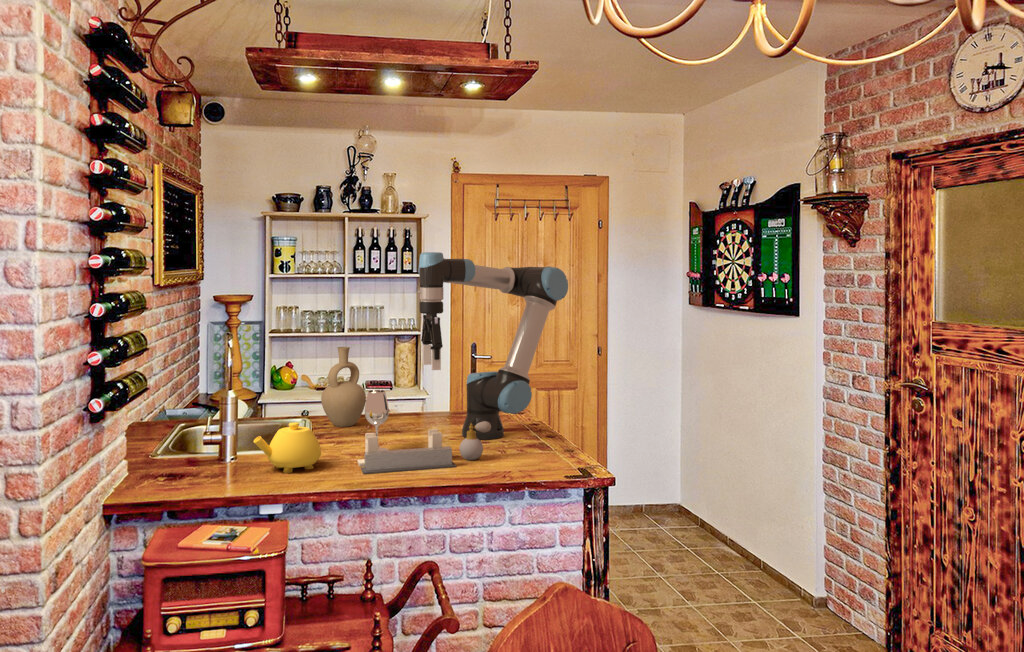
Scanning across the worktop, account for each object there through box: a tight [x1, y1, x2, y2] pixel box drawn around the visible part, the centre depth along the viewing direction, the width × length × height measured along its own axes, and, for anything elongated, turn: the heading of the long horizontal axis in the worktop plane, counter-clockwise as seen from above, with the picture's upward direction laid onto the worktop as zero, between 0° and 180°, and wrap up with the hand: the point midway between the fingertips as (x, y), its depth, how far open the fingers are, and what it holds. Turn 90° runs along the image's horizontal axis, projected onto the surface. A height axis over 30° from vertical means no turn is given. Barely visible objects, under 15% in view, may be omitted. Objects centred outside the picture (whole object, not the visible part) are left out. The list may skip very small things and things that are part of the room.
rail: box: [363, 445, 453, 471], centre depth 237 cm, size 26×4×5 cm, turn 108°
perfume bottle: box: [459, 421, 491, 461], centre depth 249 cm, size 8×10×12 cm
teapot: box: [253, 421, 322, 474], centre depth 236 cm, size 20×16×14 cm
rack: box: [357, 428, 443, 468], centre depth 245 cm, size 28×6×9 cm, turn 108°
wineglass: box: [364, 389, 390, 451], centre depth 258 cm, size 8×8×20 cm
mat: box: [360, 461, 457, 475], centre depth 238 cm, size 28×6×1 cm, turn 108°
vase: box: [320, 346, 367, 428], centre depth 299 cm, size 17×17×30 cm
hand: (431, 367), depth 251 cm, fingers open, 13 cm apart
